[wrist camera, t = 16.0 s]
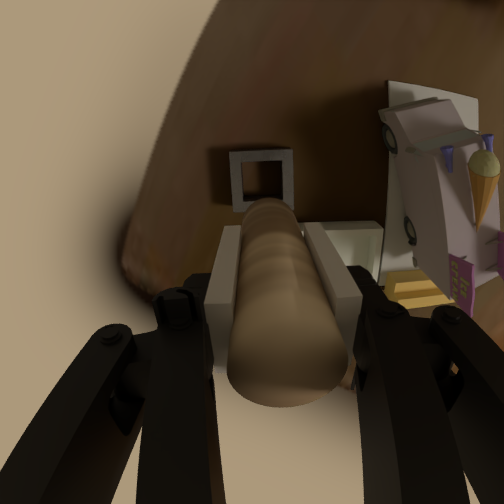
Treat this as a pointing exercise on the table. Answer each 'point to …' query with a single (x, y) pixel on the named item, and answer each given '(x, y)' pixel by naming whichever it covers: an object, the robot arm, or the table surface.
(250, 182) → the table surface
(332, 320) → the pin
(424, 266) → the toy vehicle
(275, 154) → the socket
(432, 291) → the block
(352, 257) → the tray
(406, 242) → the mat
